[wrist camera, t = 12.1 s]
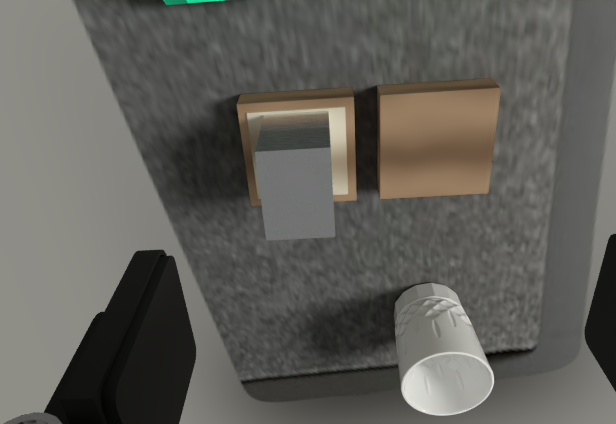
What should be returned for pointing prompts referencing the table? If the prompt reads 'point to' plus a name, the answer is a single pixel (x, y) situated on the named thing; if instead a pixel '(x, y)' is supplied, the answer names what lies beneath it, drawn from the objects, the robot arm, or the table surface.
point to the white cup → (439, 352)
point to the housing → (296, 175)
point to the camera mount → (186, 1)
